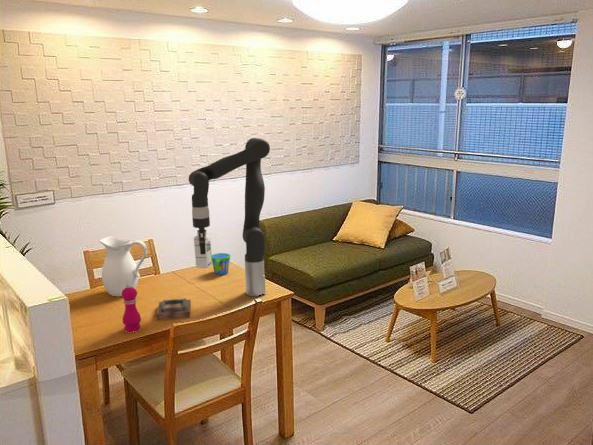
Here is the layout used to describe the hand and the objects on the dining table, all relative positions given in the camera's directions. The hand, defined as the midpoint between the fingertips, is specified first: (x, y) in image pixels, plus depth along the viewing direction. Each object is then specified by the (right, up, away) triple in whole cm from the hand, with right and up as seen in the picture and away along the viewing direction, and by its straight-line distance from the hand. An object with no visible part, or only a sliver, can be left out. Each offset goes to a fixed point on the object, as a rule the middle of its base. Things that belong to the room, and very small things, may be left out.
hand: (203, 251), depth 223 cm
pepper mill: (-26, -31, -19) cm, 45 cm away
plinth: (-12, -27, -2) cm, 30 cm away
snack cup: (+1, -15, +48) cm, 51 cm away
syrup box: (0, -7, +2) cm, 7 cm away
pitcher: (-41, -22, +21) cm, 51 cm away
